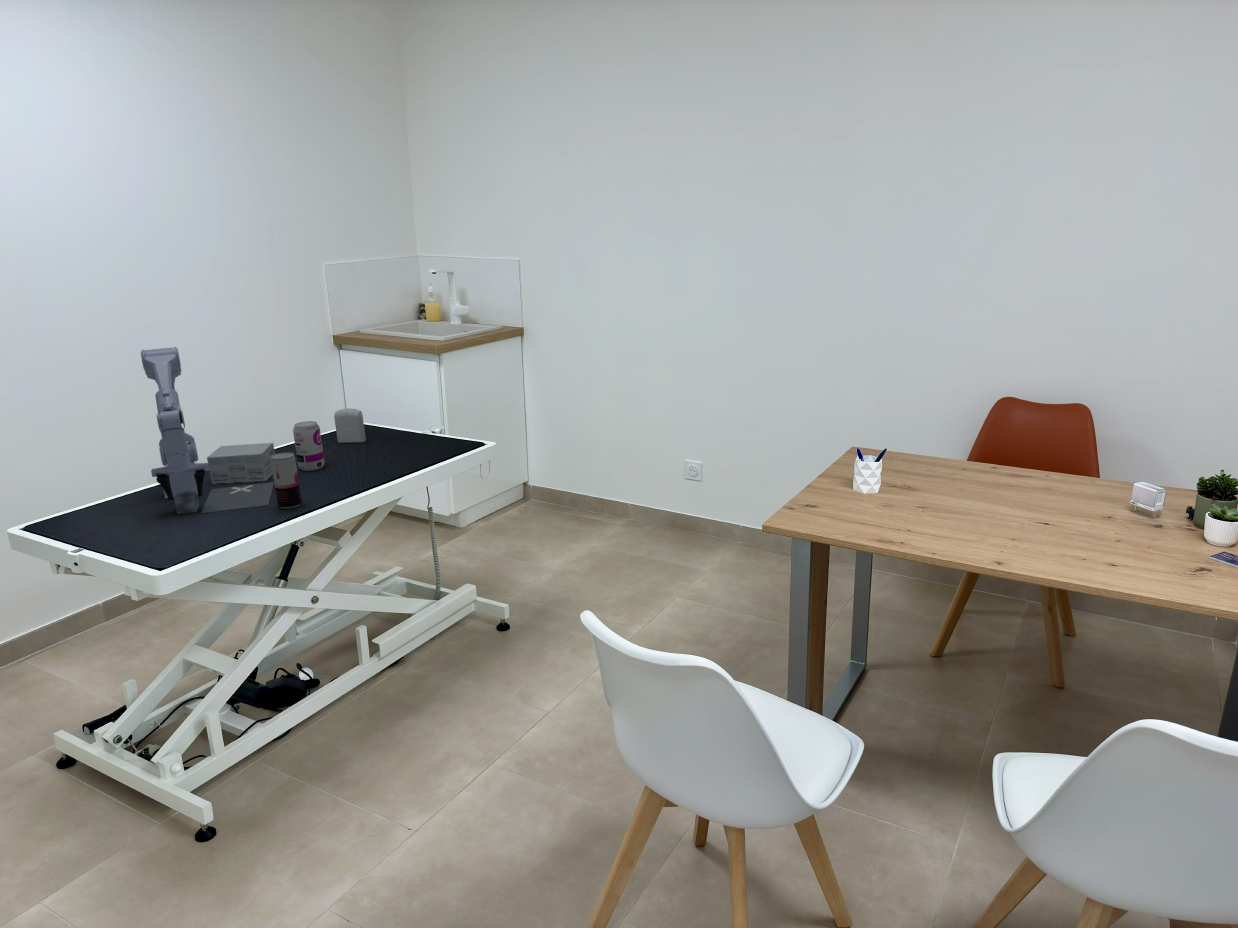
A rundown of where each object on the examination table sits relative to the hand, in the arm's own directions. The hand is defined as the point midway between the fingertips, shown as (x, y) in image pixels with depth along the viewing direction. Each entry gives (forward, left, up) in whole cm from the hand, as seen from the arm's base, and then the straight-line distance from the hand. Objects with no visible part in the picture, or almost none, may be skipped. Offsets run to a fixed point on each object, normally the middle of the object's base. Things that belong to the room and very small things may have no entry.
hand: (185, 497), depth 242 cm
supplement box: (+13, +28, -4) cm, 31 cm away
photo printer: (+46, +57, -4) cm, 73 cm away
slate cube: (0, 0, -4) cm, 4 cm away
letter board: (+13, +6, -4) cm, 15 cm away
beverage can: (+28, -7, -4) cm, 29 cm away
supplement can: (+33, +29, -4) cm, 44 cm away
